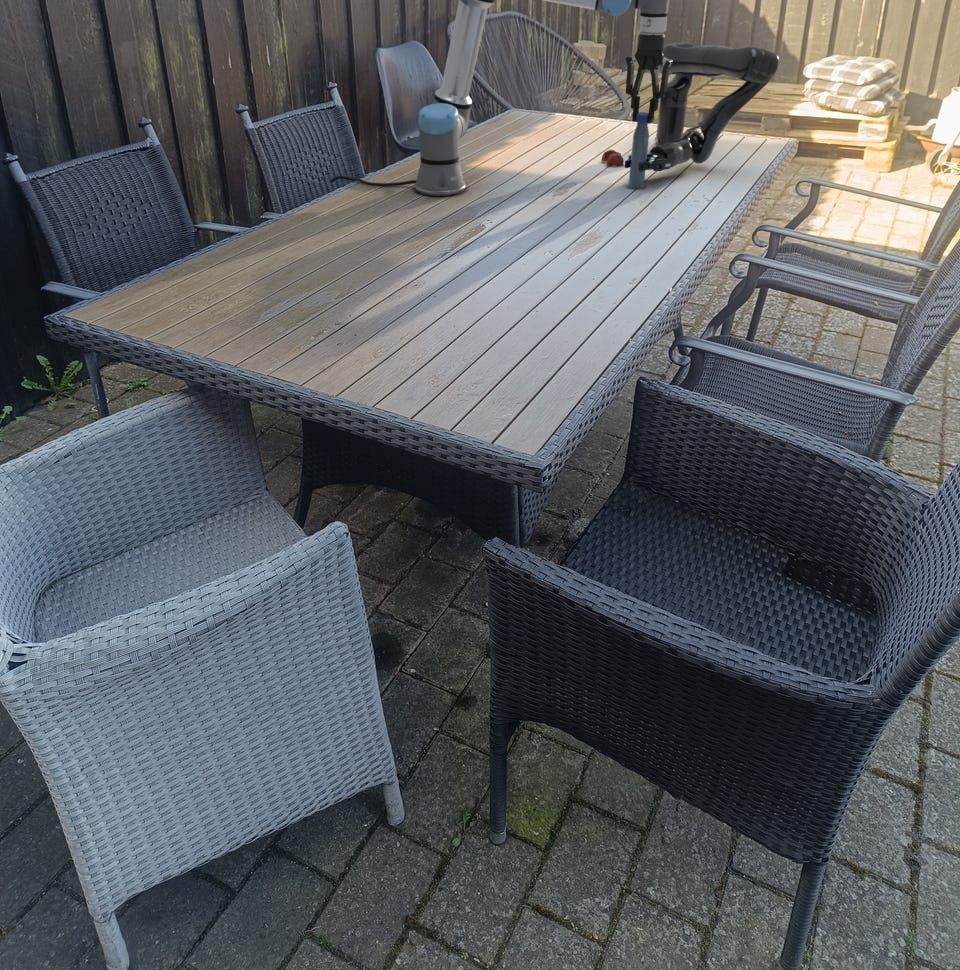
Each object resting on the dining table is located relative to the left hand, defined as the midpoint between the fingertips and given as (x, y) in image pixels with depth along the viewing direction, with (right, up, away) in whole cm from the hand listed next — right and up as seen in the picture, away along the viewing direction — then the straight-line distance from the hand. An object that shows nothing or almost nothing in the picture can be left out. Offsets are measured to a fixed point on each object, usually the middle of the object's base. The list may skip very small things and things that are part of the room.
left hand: (642, 121), depth 250 cm
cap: (0, +1, -1) cm, 2 cm away
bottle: (0, -15, +11) cm, 19 cm away
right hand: (-2, -11, +6) cm, 13 cm away
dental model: (-4, 0, +32) cm, 33 cm away
